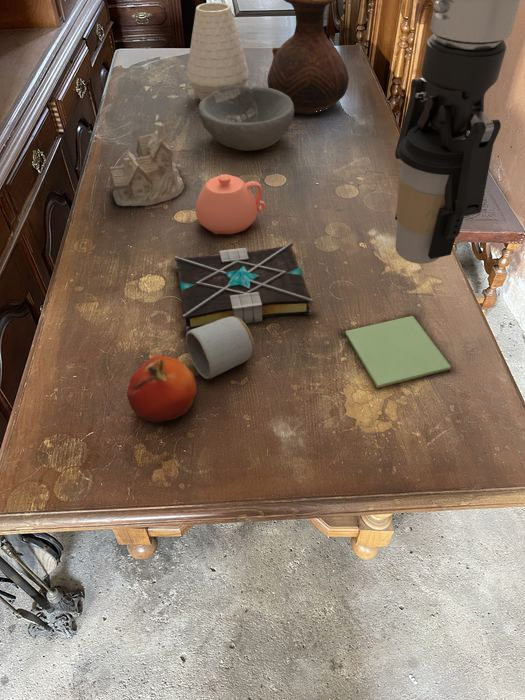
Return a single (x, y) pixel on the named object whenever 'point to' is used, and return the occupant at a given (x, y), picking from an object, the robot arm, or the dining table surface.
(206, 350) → the ceramic mug
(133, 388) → the tomato
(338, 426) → the dining table surface
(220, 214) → the sugar bowl
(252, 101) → the bowl
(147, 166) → the ceramic cottage
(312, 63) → the jug
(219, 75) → the vase
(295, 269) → the book
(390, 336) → the sage mat
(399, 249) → the coffee cup
